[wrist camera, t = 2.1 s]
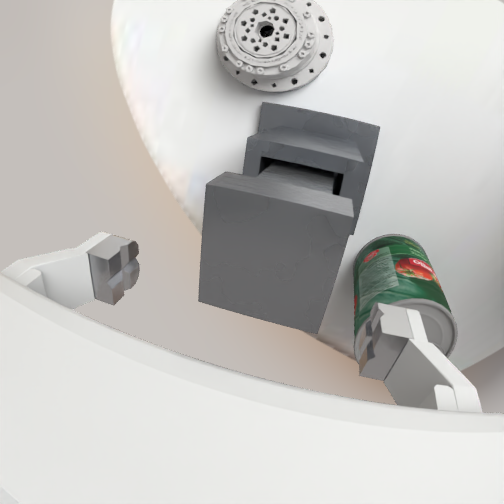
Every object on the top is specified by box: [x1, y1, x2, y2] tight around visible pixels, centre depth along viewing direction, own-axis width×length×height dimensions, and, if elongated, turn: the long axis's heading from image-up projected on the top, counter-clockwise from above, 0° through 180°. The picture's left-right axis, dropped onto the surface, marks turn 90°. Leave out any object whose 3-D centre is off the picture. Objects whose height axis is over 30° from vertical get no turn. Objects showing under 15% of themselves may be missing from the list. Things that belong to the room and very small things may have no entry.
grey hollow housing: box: [243, 102, 380, 235], centre depth 22 cm, size 10×10×12 cm
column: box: [198, 159, 354, 334], centre depth 19 cm, size 5×5×17 cm
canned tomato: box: [353, 234, 458, 364], centre depth 24 cm, size 8×8×11 cm
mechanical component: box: [216, 0, 334, 92], centre depth 21 cm, size 10×4×10 cm
